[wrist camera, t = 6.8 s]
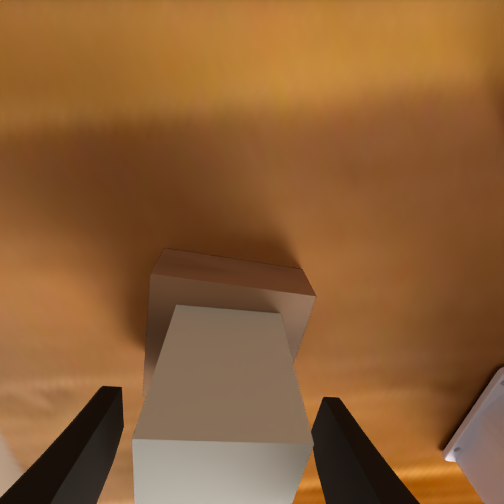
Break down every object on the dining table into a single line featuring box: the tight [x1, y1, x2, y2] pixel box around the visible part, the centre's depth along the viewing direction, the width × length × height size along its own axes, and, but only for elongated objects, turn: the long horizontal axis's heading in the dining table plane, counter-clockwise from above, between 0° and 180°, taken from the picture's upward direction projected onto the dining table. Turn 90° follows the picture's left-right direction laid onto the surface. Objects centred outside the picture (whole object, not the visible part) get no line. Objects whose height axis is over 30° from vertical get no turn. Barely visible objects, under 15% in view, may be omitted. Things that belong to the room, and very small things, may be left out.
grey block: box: [132, 305, 314, 504], centre depth 10 cm, size 4×4×6 cm
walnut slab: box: [142, 248, 317, 397], centre depth 14 cm, size 7×7×3 cm
